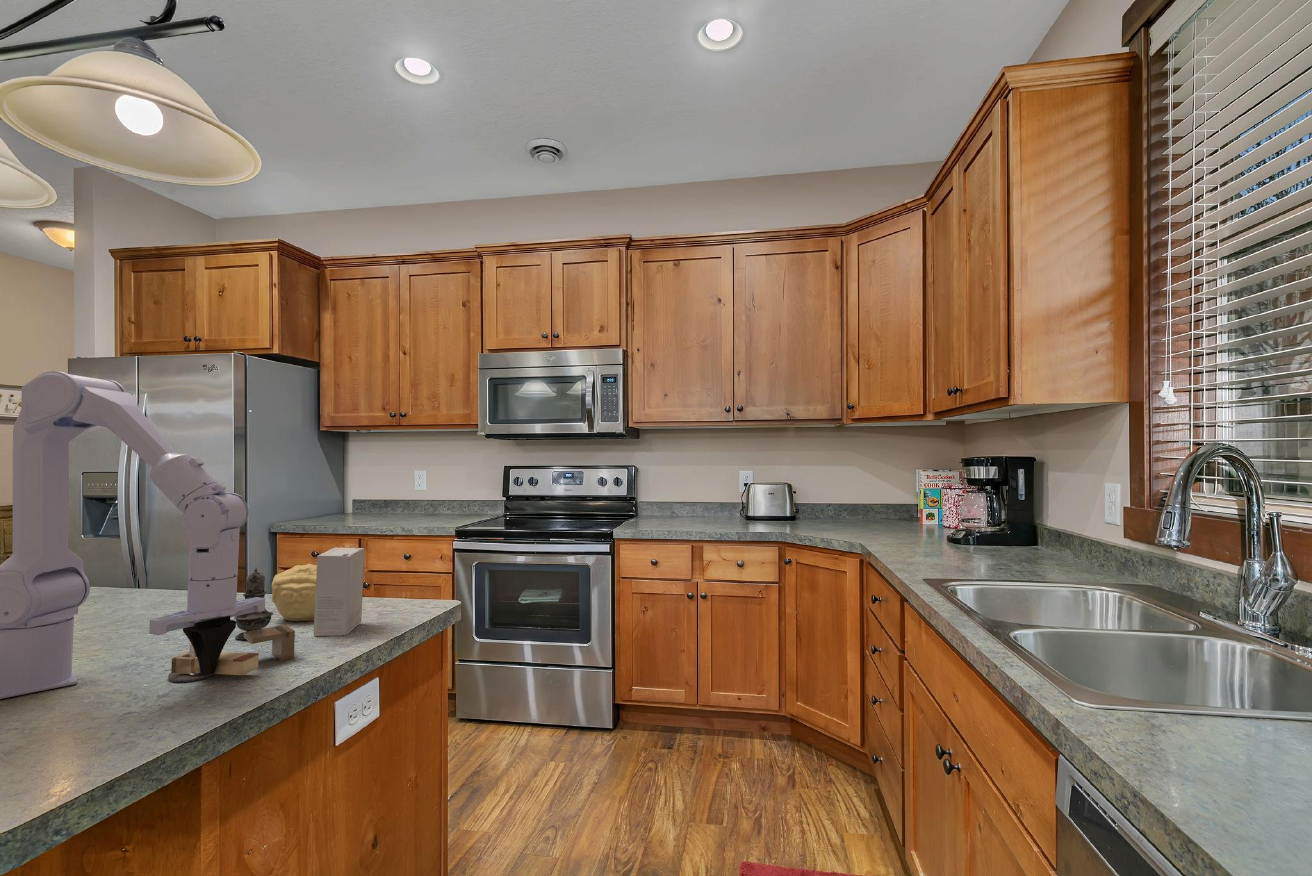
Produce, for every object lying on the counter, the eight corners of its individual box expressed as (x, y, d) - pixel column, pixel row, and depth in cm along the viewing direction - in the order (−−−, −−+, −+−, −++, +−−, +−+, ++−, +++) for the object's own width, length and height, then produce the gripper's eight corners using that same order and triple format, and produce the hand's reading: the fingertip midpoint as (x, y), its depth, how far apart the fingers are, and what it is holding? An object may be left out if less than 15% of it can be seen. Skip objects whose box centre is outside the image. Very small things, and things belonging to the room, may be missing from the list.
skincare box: (330, 624, 113) (332, 547, 114) (363, 623, 114) (365, 546, 115) (312, 637, 105) (314, 554, 105) (348, 636, 106) (350, 553, 106)
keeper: (251, 667, 90) (252, 638, 90) (242, 660, 93) (243, 632, 93) (294, 658, 94) (294, 630, 94) (284, 651, 97) (285, 624, 97)
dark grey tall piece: (277, 630, 109) (279, 565, 110) (265, 638, 103) (268, 569, 104) (240, 633, 107) (243, 566, 108) (227, 641, 102) (230, 570, 103)
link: (171, 672, 85) (171, 657, 85) (194, 663, 89) (195, 649, 89) (239, 676, 84) (240, 660, 84) (260, 667, 87) (261, 652, 88)
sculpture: (261, 627, 111) (263, 569, 112) (290, 610, 123) (292, 559, 124) (326, 624, 113) (327, 568, 114) (348, 609, 125) (350, 558, 125)
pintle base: (172, 686, 82) (173, 653, 82) (164, 675, 86) (166, 644, 86) (224, 674, 87) (225, 644, 87) (214, 664, 91) (215, 635, 91)
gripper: (175, 589, 77) (170, 694, 76) (280, 571, 90) (276, 660, 90) (141, 584, 79) (136, 687, 79) (248, 567, 93) (244, 655, 92)
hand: (208, 672), depth 84 cm, fingers closed, pressing on link
